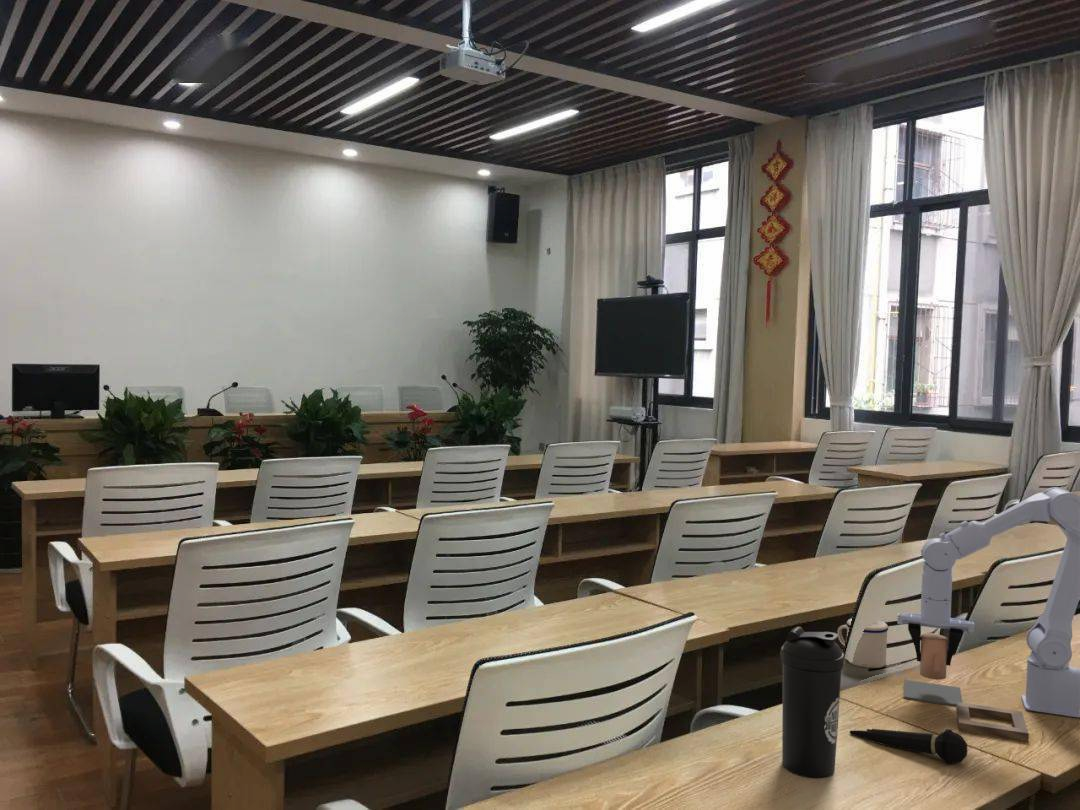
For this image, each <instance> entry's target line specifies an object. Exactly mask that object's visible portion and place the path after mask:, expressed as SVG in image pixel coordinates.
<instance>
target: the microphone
mask: <svg viewBox="0 0 1080 810" xmlns="http://www.w3.org/2000/svg"><path fill="white" fill-rule="evenodd" d="M849 734H850V735H852V736H856V737H860V738H863V739H865V740H867V739H868V741H871V742H872V741H873V742H872V743H876V742H877V743H876V744H880V743H881V744H882V745H884V744H885V745H884V746H888V745H889V746H888V747H893V748H899V749H903V750H907V751H911V752H916V753H923V754H926V755H931V756H935V755H937V756H938V757H939V758H940V759H941V760H943V762H944V763H945V764H947V765H953V764H959V763H962V762H963V761H964V759H965V758H966V757H967V756H968V744H967V741H966V740H965V738H964V737H963V736H962V735H961V734H959V733H958V732H957V733H956V732H954V731H953V730H952V729H948V728H946V729H945V730H944V731H942V732H940V733H939V734H938V735H935V733H924V732H915V731H902V730H893V729H891V730H889V729H879V728H872V729H870V728H867V729H866V730H849ZM881 744H880V745H881Z"/></svg>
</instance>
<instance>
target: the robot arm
mask: <svg viewBox="0 0 1080 810" xmlns="http://www.w3.org/2000/svg"><path fill="white" fill-rule="evenodd" d="M1050 520H1053V521H1054V522H1055V523H1056V524H1057V526H1058V527H1059V529H1060V530H1061V532H1062V533H1063V535H1065V537H1066V543H1065V546H1064V548H1063V552H1062V555H1061V558H1060V560H1059V564H1058V567H1057V570H1056V573H1055V576H1054V579H1053V583H1052V585H1051V588H1050V591H1049V594H1048V597H1047V600H1046V604H1045V607H1044V609H1043V611H1042V613H1041V614H1040V615H1039V616H1038V618H1037V620H1036V622H1035V624H1034V626H1033V627H1031V628H1030V629H1029V630H1028V631H1027V634H1026V637H1025V638H1026V645H1027V646H1028V648H1029V649H1030V650H1031V652H1030V654H1029V655H1028V656H1027V661H1026V662H1027V663H1026V665H1027V666H1026V683H1025V684H1026V686H1025V687H1026V688H1025V694H1021V700H1022V703H1023V705H1024V708H1025V710H1026V711H1032V712H1037V713H1044V714H1050V715H1051V714H1052V715H1058V716H1063V717H1064V716H1065V717H1072V718H1078V719H1079V718H1080V668H1079V667H1077V666H1071V665H1070V664H1069V663H1070V662H1071V660H1072V656H1073V652H1072V651H1073V650H1072V647H1071V644H1072V643H1071V642H1072V639H1073V626H1072V623H1073V620H1074V617H1075V614H1076V611H1077V607H1078V604H1079V601H1080V495H1078V494H1076V493H1073V492H1070V491H1069V490H1067V489H1066V488H1064V487H1060V486H1056V487H1055V486H1054V487H1049V488H1048V489H1046V490H1045V491H1043V492H1038V493H1035V494H1033V495H1031V496H1029V497H1028V498H1025V499H1024V500H1022V501H1020V502H1018V503H1016V504H1015V505H1013V506H1011V507H1009V508H1007V509H1005V510H1003V511H1001V512H1000V513H998V514H996V515H994V516H992V517H991V518H989V519H987V520H985V521H983V522H980V521H977V520H971V521H969V522H968V521H967V520H963V521H962V522H960V525H961V526H959V527H957V528H955V529H953V530H951V531H948V532H947V533H944V532H942V533H939V535H938V536H939V538H938V537H937V538H936V537H935V538H931V539H929V540H927V541H925V542H924V544H923V546H922V547H921V548H922V549H921V550H920V554H921V556H922V559H923V560H924V561H923V566H922V571H923V572H922V575H921V593H920V594H921V599H920V613H905V612H904V613H902V612H897V622H896V623H897V625H907V629H908V633H909V635H910V638H911V639H912V643H913V646H914V649H915V654H916V655H915V656H916V662H920V661H921V635H922V627H927V628H934V629H944V630H948V632H947V634H948V635H947V638H948V645H947V666H950V667H951V663H952V658H953V657H954V656H953V655H954V653H955V651H956V648H957V646H958V645H959V643H960V641H961V640H962V638H963V632H967V633H968V634H975V621H970V620H965V619H959V618H954V617H951V616H952V594H953V593H952V591H953V576H952V572H953V571H952V570H953V567H954V566H955V564H956V561H957V560H962V559H964V558H967V557H969V556H970V555H972V554H974V553H976V552H978V551H980V550H982V549H986V547H989V546H990V543H991V540H992V538H993V537H995V536H997V535H999V534H1002V533H1005V532H1006V531H1008V530H1011V529H1013V528H1015V527H1018V526H1020V525H1023V524H1025V523H1027V522H1029V521H1038V522H1051V521H1050Z"/></svg>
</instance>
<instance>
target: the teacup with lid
mask: <svg viewBox="0 0 1080 810" xmlns="http://www.w3.org/2000/svg"><path fill="white" fill-rule="evenodd" d="M851 621H852V617H851V618H849V619H848V620H847V621H846V623H845V624H842V625H840V626H839V627H838V628H837V634H838V638H837V639H838V640H839V642H840V643H841V644H842V646H844V647H846V646H845V642H847V640H845V638H844V636H843V630H844V629H846V637H847V636H848V632H849V628H850V625H851ZM880 621H881V620H880ZM880 621H876V622H874V623H872V624H871V625H869V626H868V627H866V628H865V629H864V631H863V632H864V633H863V634H862V637H861V638H860V640H859V642H858V644H857V647H856V650H855V653H854V657H853V662H852V664H851V665H853V666H856V667H860V668H865V669H879V668H883V667H885V666H886V664H887V643H888V641H887V640H888V630H889V626H888V624H887V623H886V622H884V621H882V622H880Z"/></svg>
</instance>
